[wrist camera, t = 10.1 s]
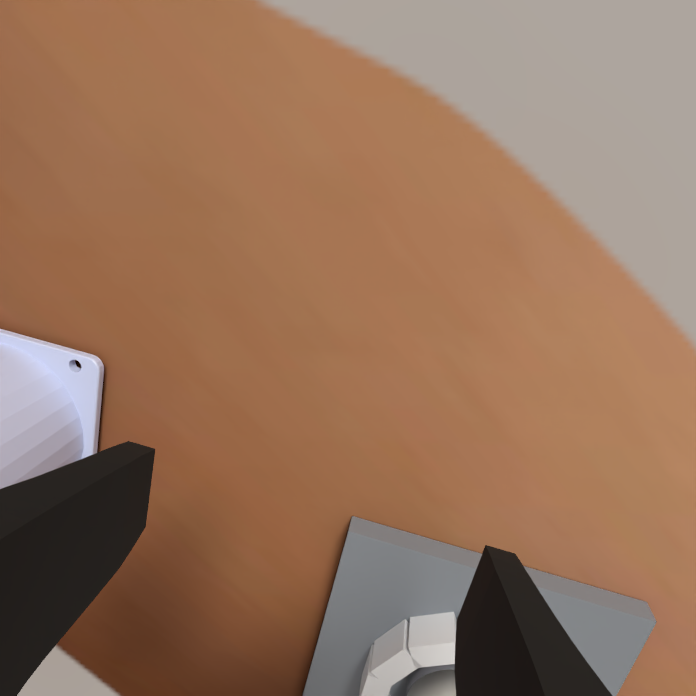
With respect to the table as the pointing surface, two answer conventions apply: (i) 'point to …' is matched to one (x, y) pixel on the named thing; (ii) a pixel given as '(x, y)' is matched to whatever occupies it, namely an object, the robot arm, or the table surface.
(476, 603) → the robot arm
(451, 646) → the socket holder
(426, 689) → the rounded peg
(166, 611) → the table surface
